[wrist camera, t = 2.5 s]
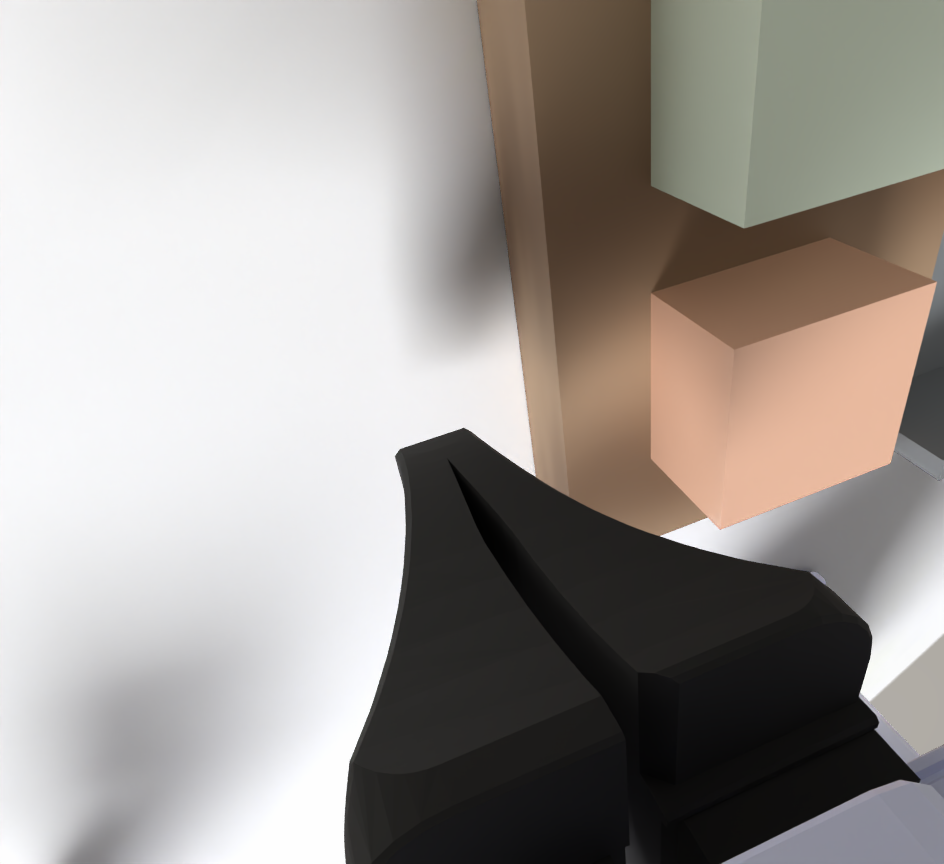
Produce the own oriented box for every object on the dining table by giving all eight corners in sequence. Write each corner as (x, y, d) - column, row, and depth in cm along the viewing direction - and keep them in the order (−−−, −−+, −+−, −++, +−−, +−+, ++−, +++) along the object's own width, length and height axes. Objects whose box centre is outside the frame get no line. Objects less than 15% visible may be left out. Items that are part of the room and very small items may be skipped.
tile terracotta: (803, 403, 16) (890, 463, 14) (651, 458, 16) (720, 529, 14) (829, 237, 14) (936, 282, 12) (651, 293, 13) (734, 349, 11)
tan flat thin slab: (832, 409, 20) (889, 447, 18) (541, 516, 18) (575, 568, 17) (975, -367, 11) (1107, -421, 10) (439, -301, 9) (493, -354, 8)
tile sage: (846, 131, 13) (968, 161, 11) (651, 185, 12) (743, 228, 10) (889, -151, 11) (1055, -178, 9) (651, -106, 10) (771, -125, 8)
